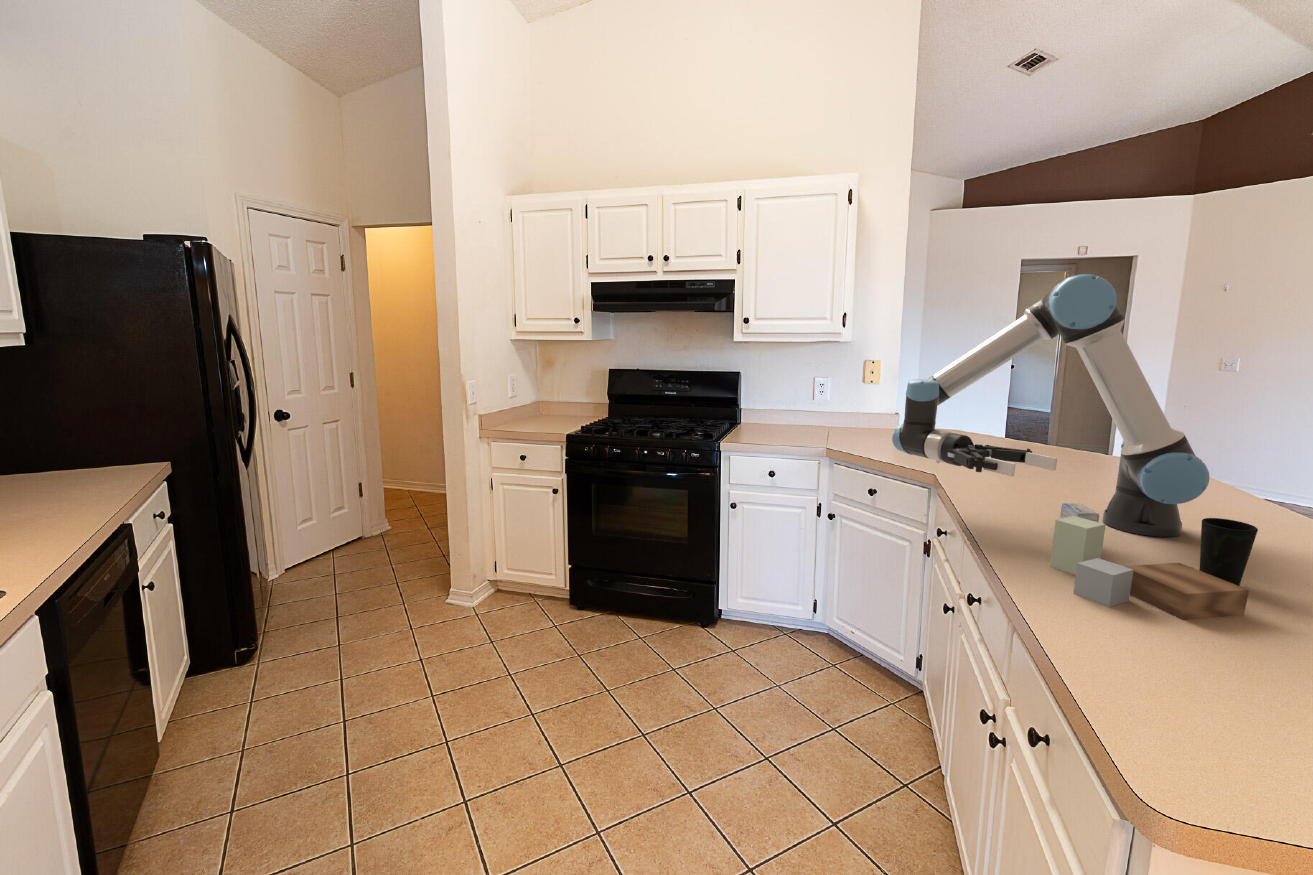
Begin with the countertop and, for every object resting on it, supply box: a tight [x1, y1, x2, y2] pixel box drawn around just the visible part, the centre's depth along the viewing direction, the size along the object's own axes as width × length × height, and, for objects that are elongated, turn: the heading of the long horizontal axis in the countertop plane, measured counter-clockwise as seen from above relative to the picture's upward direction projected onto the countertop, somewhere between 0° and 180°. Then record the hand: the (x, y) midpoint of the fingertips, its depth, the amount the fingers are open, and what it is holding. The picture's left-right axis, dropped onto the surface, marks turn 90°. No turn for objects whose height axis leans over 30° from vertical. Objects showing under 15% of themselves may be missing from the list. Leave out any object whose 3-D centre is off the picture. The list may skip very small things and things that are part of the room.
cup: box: [1198, 517, 1259, 587], centre depth 114 cm, size 8×8×12 cm
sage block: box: [1049, 516, 1107, 576], centre depth 121 cm, size 6×6×10 cm
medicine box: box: [1059, 502, 1100, 523], centre depth 135 cm, size 8×4×9 cm, turn 168°
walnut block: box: [1123, 562, 1250, 621], centre depth 107 cm, size 12×12×5 cm
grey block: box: [1073, 558, 1134, 608], centre depth 109 cm, size 6×6×6 cm
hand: (1035, 467), depth 127 cm, fingers open, 13 cm apart
